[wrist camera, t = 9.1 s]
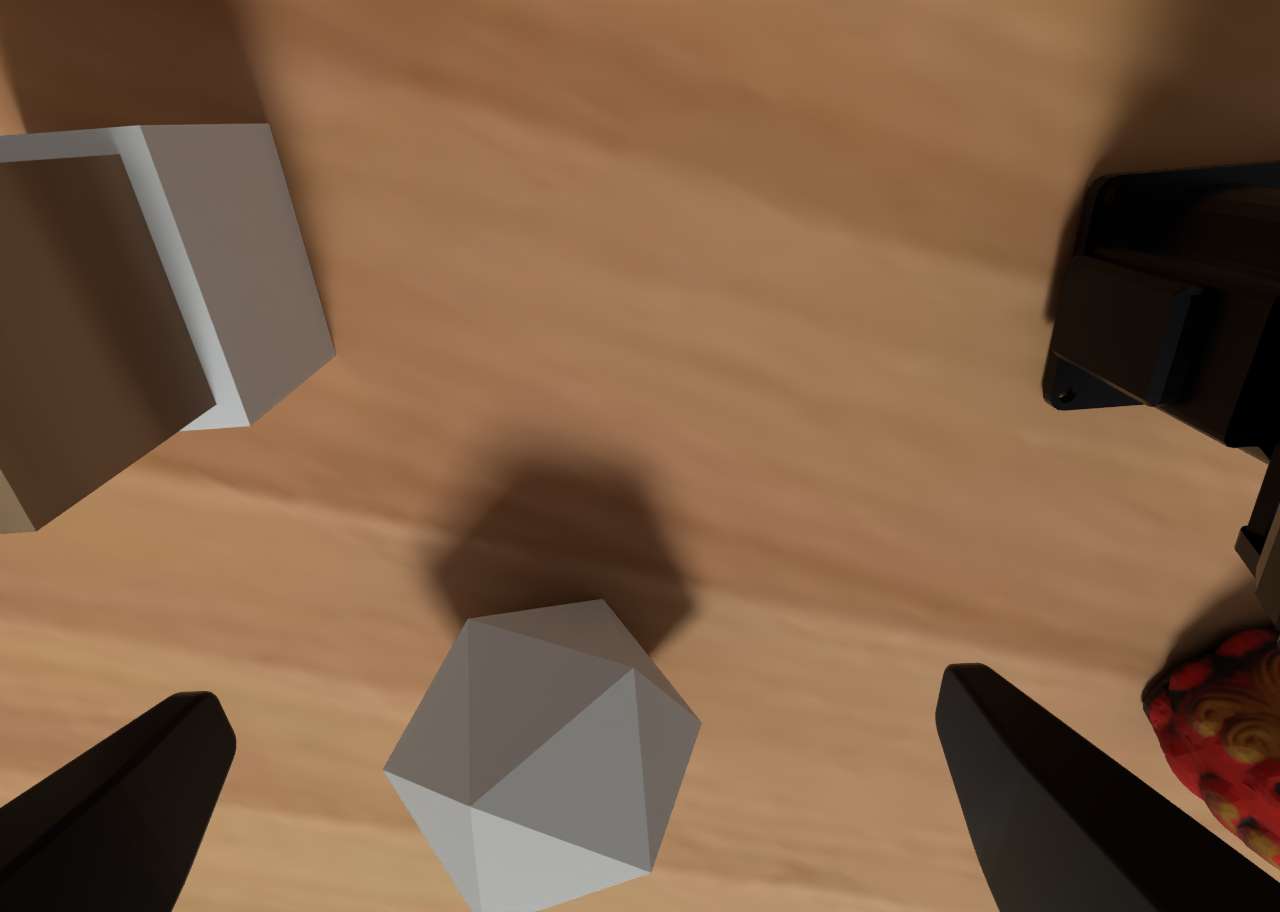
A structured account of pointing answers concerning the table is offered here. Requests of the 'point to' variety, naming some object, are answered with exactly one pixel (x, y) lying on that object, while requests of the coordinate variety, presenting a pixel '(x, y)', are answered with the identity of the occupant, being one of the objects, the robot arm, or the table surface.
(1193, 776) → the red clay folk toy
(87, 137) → the grey block
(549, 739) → the die
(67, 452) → the brown cube
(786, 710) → the table surface
